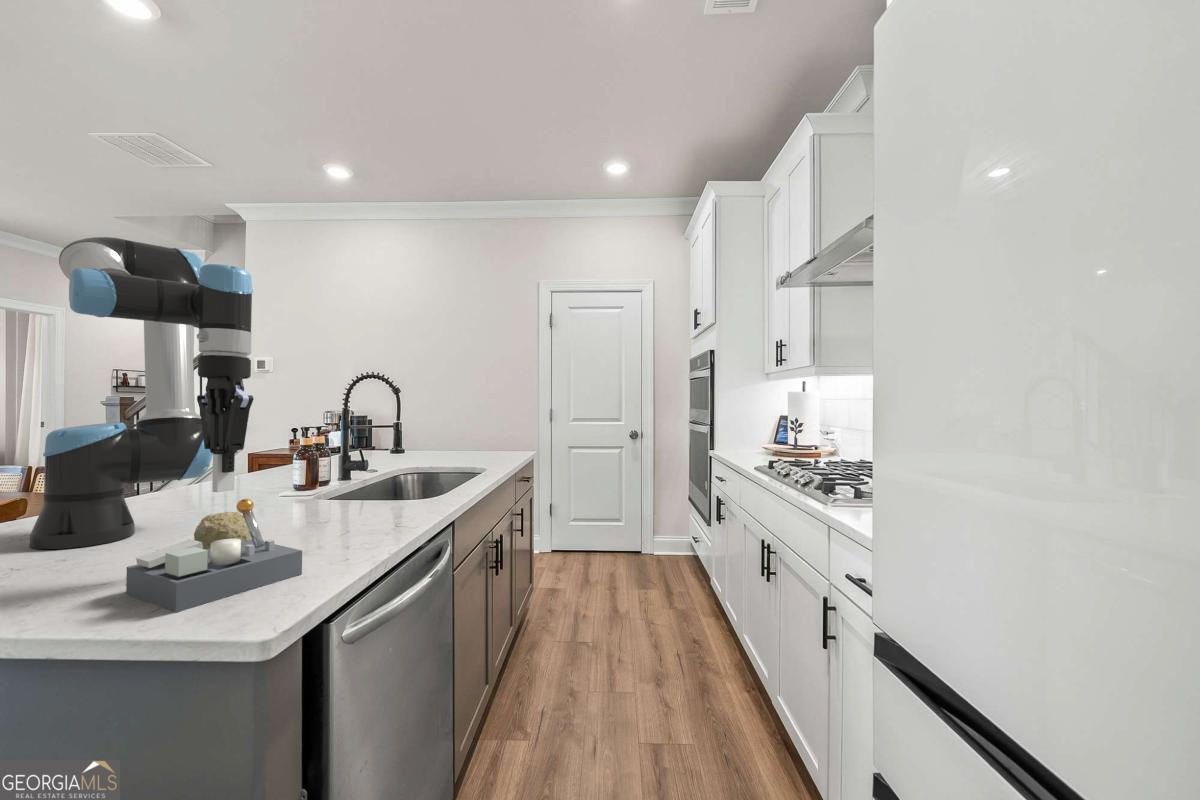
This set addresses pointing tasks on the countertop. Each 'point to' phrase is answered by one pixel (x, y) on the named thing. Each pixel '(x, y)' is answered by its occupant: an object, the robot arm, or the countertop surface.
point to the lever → (250, 521)
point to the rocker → (159, 555)
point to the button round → (225, 551)
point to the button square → (186, 561)
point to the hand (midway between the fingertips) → (223, 490)
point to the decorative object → (221, 528)
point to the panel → (214, 577)
